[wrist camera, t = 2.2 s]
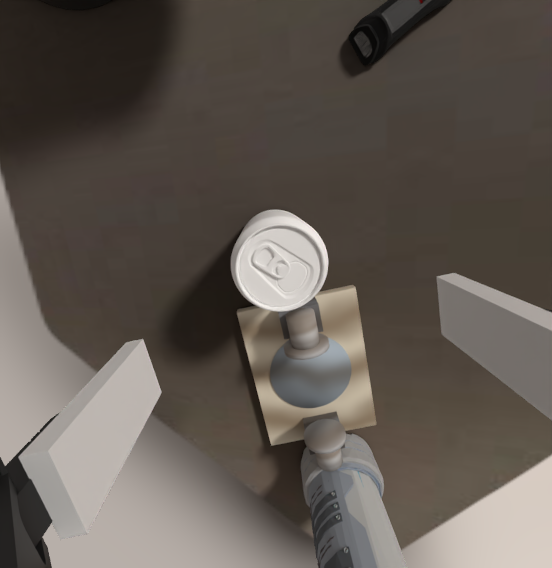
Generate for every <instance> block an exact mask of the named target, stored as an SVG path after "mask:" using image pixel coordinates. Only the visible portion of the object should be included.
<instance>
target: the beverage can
mask: <svg viewBox="0 0 552 568" xmlns="http://www.w3.org/2000/svg"><path fill="white" fill-rule="evenodd" d="M327 271H328V255H327V251H326V248H325V245H324V243H323V241H322V239H321V237H320V236H319V235H318V233H317V232H316V231H315V230H314V229H313V228H312V227H311V226H309V225H308V224H307V223H305V222H304V221H303V220H301V219H300V218H298V217H297V216H295V215H294V214H292V213H290V212H287V211H284V210H268V211H264V212H261V213H259V214H257V215H256V216H254V217H253V218H252V219H251V220H250V221H249V222H248V223H247V224H246V225H245V227H244V229H243V230H242V232H241V234H240V236H239V238H238V239H237V241H236V243H235V245H234V248H233V251H232V255H231V273H232V277H233V280H234V282H235V285H236V287H237V288H238V290H239V291H240V293H241V294H242V295H243V296H244V297H245V298H246V299H247V300H248V301H249V302H251V303H252V304H254V305H255V306H257V307H259V308H262V309H265V310H269V311H276V312H283V311H290V310H294V309H296V308H299V307H301V306H303V305H305V304H306V303H308V302H309V301H310V300H311V299H313V298H314V297H315V296H316V294H317V293H318V292H319V291H320V289H321V287H322V286H323V284H324V281H325V279H326V276H327Z"/></svg>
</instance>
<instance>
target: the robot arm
mask: <svg viewBox="0 0 552 568" xmlns="http://www.w3.org/2000/svg"><path fill="white" fill-rule="evenodd" d="M41 1H43V2H45V3H47V4H50V5H53V6H56V7H59V8H64V9H72V10H83V9H90V8H95V7H98V6H101V5H103V4H106V3H108V2H110V1H111V0H41ZM437 286H438V298H439V310H440V321H441V333H442V335H443V336H445V337H446V338H447V339H448V340H450V341H451V342H452V343H454V344H455V345H456V346H457V347H459V348H460V349H461V350H462V351H464V352H465V353H466V354H468V355H469V356H470V357H471V358H473V359H474V360H475V361H477V362H478V363H479V364H480V365H482V366H483V367H484V368H485V369H487V370H488V371H489V372H491V373H492V374H493V375H494V376H496V377H497V378H498V379H500V380H501V381H502V382H503V383H505V384H506V385H507V386H509V387H510V388H511V389H512V390H514V391H515V392H516V393H517V394H519V395H520V396H521V397H523V398H524V399H525V400H526V401H528V402H529V403H530V404H532V405H533V406H534V407H535V408H537V409H538V410H539V411H540V412H542V413H543V414H544V415H546V416H547V417H548V418H549V419H551V420H552V310H548V309H543V308H539V307H537V306H534V305H532V304H529V303H527V302H524V301H522V300H519V299H517V298H515V297H512V296H510V295H507V294H505V293H502V292H500V291H497V290H495V289H492V288H490V287H488V286H485V285H483V284H480V283H478V282H475V281H473V280H470V279H468V278H465V277H463V276H460V275H458V274H456V273H451V274H447V275H442V276H437ZM161 393H162V392H161V389H160V386H159V384H158V381H157V378H156V375H155V372H154V369H153V366H152V363H151V360H150V358H149V355H148V352H147V349H146V346H145V343H144V340H143V339H140V340H135V341H131V342H126V343H125V344H124V345H123V346H122V347H121V349H120V350H119V351H118V352H117V353H116V354H115V355H114V356H113V357H112V358H111V359H110V360H109V361H108V362H107V363H106V364H105V366H104V367H103V368H102V369H101V370H100V371H99V372H98V373H97V374H96V375H95V376H94V377H93V378H92V379H91V380H90V382H89V383H88V384H87V385H86V386H85V387H84V388H83V389H82V390H81V391H80V392H79V393H78V394H77V395H76V396H75V397H74V398H73V399H72V401H71V402H70V403H69V404H68V405H67V406H66V407H65V408H64V409H63V410H62V411H61V412H60V413H58V414H57V415H56V416H54V417H53V418H51V419H50V420H49V421H48V422H47V423H46V424H45V425H44V426H43V428H42V429H41V430H40V432H38V433H37V434H36V435H35V436H34V437H33V438H32V439H31V442H28V443H27V444H26V445H25V446H24V447H23V448H22V449H21V450H20V452H19V453H18V454H17V455H16V456H15V457H14V458H13V459H12V460H11V461H10V462H9V463H8V464H7V465H6V466H4V464H3V462H2V460H1V458H0V568H52V567H51V562H50V557H49V552H48V548H47V545H46V544H45V542H44V540H43V538H42V536H43V535H44V533H45V532H46V530H47V529H48V527H49V526H50V524H51V523H52V524H53V527H54V528H55V530H56V532H57V534H58V536H59V538H60V539H65V538H70V537H75V536H80V535H85V534H88V532H89V530H90V528H91V526H92V524H93V522H94V520H95V519H96V517H97V515H98V513H99V511H100V509H101V507H102V505H103V503H104V501H105V500H106V498H107V495H108V494H109V492H110V490H111V488H112V486H113V484H114V482H115V480H116V479H117V477H118V475H119V473H120V471H121V469H122V467H123V465H124V463H125V461H126V459H127V458H128V456H129V454H130V452H131V450H132V448H133V446H134V444H135V442H136V440H137V438H138V436H139V434H140V433H141V431H142V429H143V427H144V425H145V423H146V421H147V419H148V417H149V416H150V414H151V412H152V410H153V408H154V406H155V404H156V402H157V400H158V398H159V396H160V395H161Z"/></svg>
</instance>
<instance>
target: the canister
mask: <svg viewBox="0 0 552 568" xmlns="http://www.w3.org/2000/svg"><path fill="white" fill-rule="evenodd" d="M341 453H342V458H343V463H342V465H341V467H340V468H339V469H337V470H335V471H332V472H327V471H324V470H322V469H321V468H320V467H319V466H318V463H317V459H316V454H313V455H310V452H309V448H308V447H306V448H305V450H304V452H303V456H302V460H301V474H302V483H303V491H304V496H305V500H306V504H307V505H308V506H309V507H310V512H311V520H312V529H313V534H314V544H315V549H316V558H317V560H318V566H319V568H408V567H407V565H406V562H405V560H404V557H403V554H402V552H401V549H400V546H399V544H398V541H397V539H396V536H395V533H394V531H393V528H392V525H391V523H390V520H389V518H388V515H387V512H386V510H385V507H384V505H383V502H382V499H381V498H382V495H383V490H384V483H383V477H382V475H381V473H380V471H379V468H378V465H377V463H376V461H375V459H374V456H373V454H372V451H371V449H370V447H369V446H368V444H367V443H366V442H365V441H364V440H363V439H362V438H360V437H359V436H357V435H355V434H346V441H345V448H342V449H341Z"/></svg>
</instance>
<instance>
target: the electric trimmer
mask: <svg viewBox="0 0 552 568" xmlns="http://www.w3.org/2000/svg"><path fill="white" fill-rule="evenodd" d="M450 1H451V0H388V1H387V2H385V3H384V4H383V5H381V6H380V7H379V8H377V9H376V10H375V11H373V12H372V13H370V14H369V15H367V16H365V17H364V18H363V19H361V20H360V21H359V23H358V24H357V25H356V26H355V28H354V30H353V31H352V32H351V33H350V35H349V40H350V42H351V44H352V46H353V48H354V49H355V51H356V53H357V55H358V56H359V58H360V60H361V61H362V63H363V64H364V65H368V64H369V63H374V62H376V61H377V60H379V59H380V58H381V57H382V56H383V55H384V54H385V52H386V51H387V50H388V48H389V47H390V46H391V45H392V44H393V43H394V42H395V41H397V40H398V39H399V38H400V37H401V36H402V35H403V34H405V33H406V32H407V31H408V30H409V29H410V28H411V27H413V26H414V25H415V24H416V23H417V22H418V21H420V20H421V19H422V18H423V17H425V16H426V15H428V14H429V13H430V12H432V11H433V10H434V9H436V8H440V7H443V6H445V5H446V4H447V3H448V2H450Z"/></svg>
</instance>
